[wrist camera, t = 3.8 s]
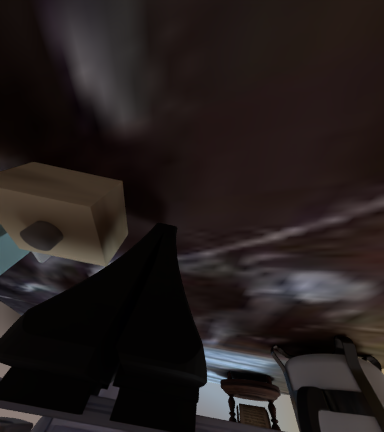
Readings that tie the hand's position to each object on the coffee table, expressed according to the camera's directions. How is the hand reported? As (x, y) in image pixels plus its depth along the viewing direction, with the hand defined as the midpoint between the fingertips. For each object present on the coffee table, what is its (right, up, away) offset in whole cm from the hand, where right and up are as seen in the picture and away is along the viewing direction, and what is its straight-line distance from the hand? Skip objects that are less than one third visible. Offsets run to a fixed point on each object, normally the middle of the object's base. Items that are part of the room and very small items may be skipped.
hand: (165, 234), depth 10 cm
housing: (-6, +2, +1) cm, 7 cm away
